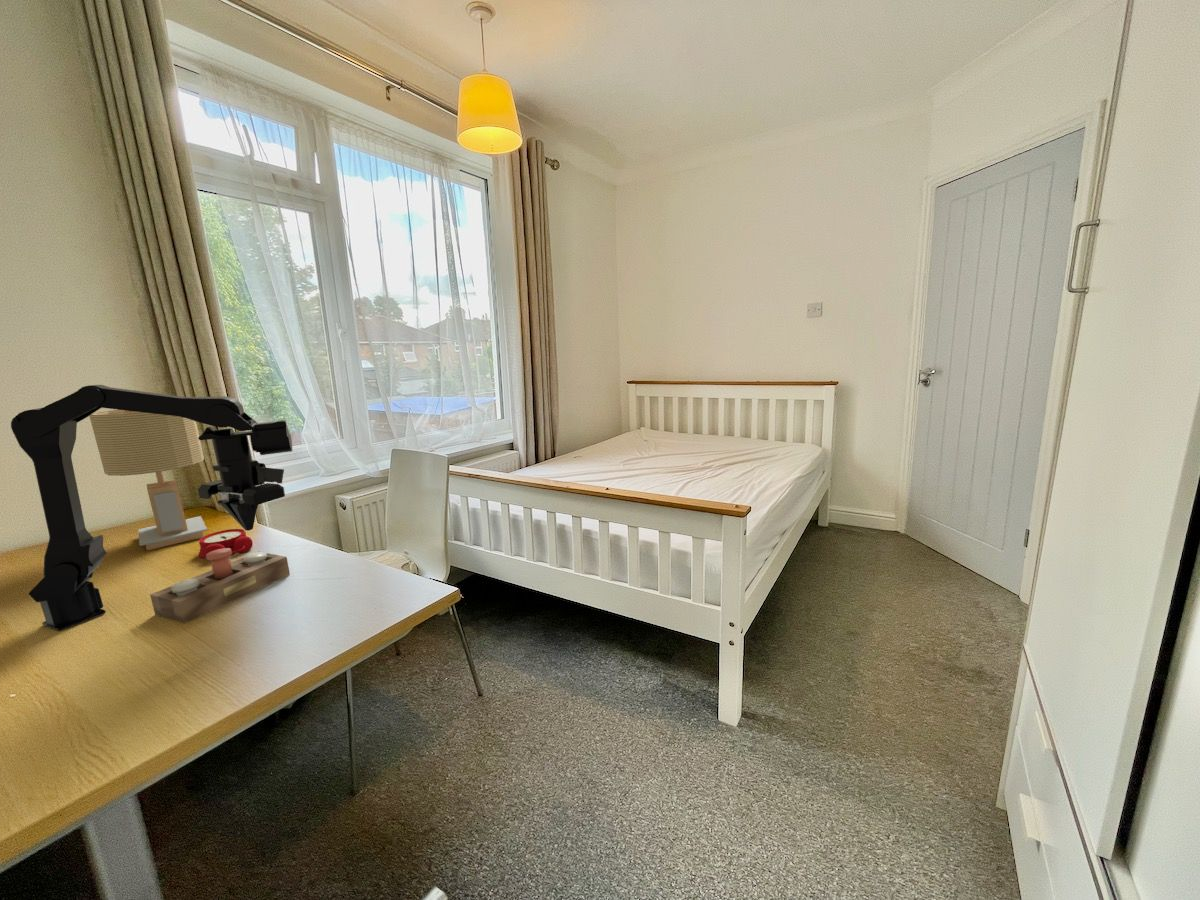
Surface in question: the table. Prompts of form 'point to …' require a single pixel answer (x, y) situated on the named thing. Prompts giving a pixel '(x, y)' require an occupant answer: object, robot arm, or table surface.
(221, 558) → the red plug
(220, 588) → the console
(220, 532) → the alarm clock
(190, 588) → the left plug
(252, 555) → the right plug
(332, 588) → the table surface
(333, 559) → the table surface
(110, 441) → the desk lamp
